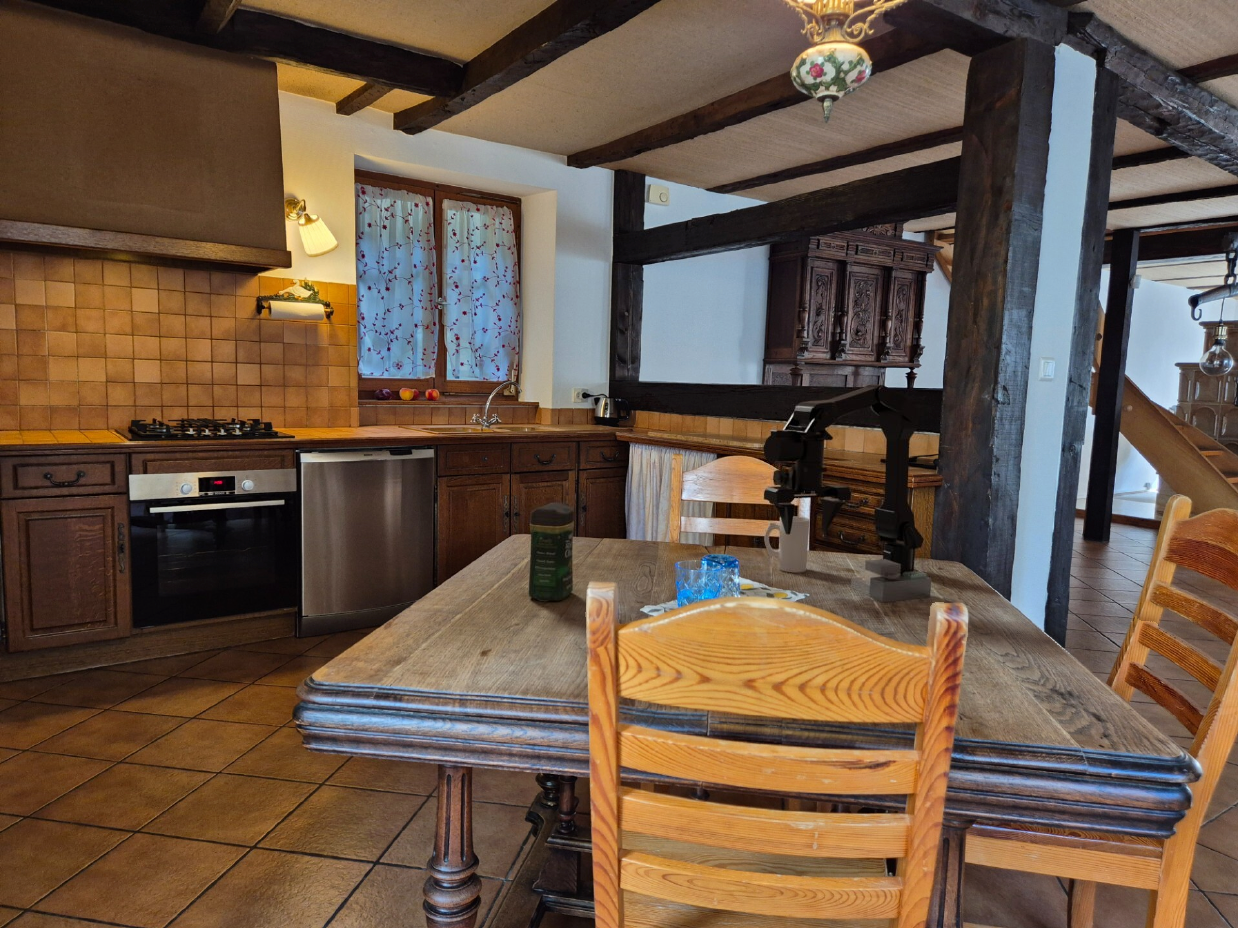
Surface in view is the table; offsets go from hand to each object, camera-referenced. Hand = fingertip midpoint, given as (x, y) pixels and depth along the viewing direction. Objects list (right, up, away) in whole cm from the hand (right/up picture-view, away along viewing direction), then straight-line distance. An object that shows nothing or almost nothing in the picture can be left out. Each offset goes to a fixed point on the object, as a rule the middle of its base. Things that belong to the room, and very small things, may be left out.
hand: (806, 533), depth 164 cm
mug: (-2, -10, +13) cm, 17 cm away
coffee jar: (-54, -12, -12) cm, 56 cm away
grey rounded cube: (+15, -12, -3) cm, 20 cm away
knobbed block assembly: (+16, -12, -6) cm, 21 cm away
